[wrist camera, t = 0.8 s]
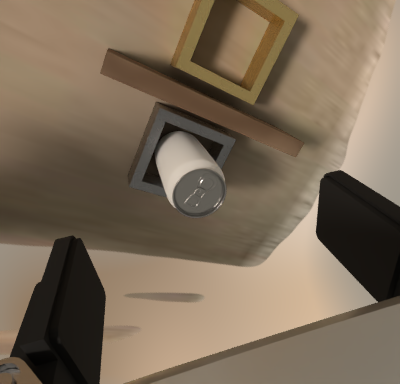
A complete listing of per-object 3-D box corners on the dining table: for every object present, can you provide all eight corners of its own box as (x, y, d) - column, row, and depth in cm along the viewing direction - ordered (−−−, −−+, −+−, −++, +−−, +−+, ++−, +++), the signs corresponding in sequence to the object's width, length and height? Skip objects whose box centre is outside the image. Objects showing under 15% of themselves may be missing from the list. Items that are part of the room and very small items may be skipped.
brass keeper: (242, 99, 38) (253, 105, 35) (170, 64, 33) (175, 67, 30) (282, 16, 34) (298, 15, 31) (207, -35, 30) (218, -43, 27)
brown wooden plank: (269, 140, 42) (295, 157, 36) (103, 66, 32) (100, 73, 26) (276, 127, 41) (304, 142, 35) (108, 48, 31) (107, 51, 25)
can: (209, 146, 40) (242, 184, 29) (183, 182, 41) (205, 230, 31) (171, 120, 37) (193, 152, 26) (144, 160, 38) (155, 205, 28)
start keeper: (195, 195, 43) (201, 207, 40) (127, 175, 38) (129, 186, 35) (226, 131, 39) (236, 139, 36) (156, 101, 35) (159, 107, 32)
